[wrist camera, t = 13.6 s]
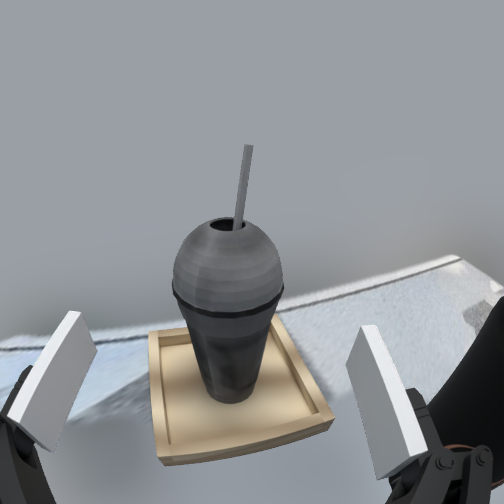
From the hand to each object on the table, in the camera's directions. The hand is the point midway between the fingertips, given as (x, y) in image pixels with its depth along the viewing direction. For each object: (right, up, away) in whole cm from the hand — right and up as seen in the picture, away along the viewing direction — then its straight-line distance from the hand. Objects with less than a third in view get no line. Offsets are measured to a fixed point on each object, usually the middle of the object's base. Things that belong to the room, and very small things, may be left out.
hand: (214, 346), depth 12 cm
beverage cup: (0, -8, +11) cm, 14 cm away
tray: (0, -9, +12) cm, 15 cm away
